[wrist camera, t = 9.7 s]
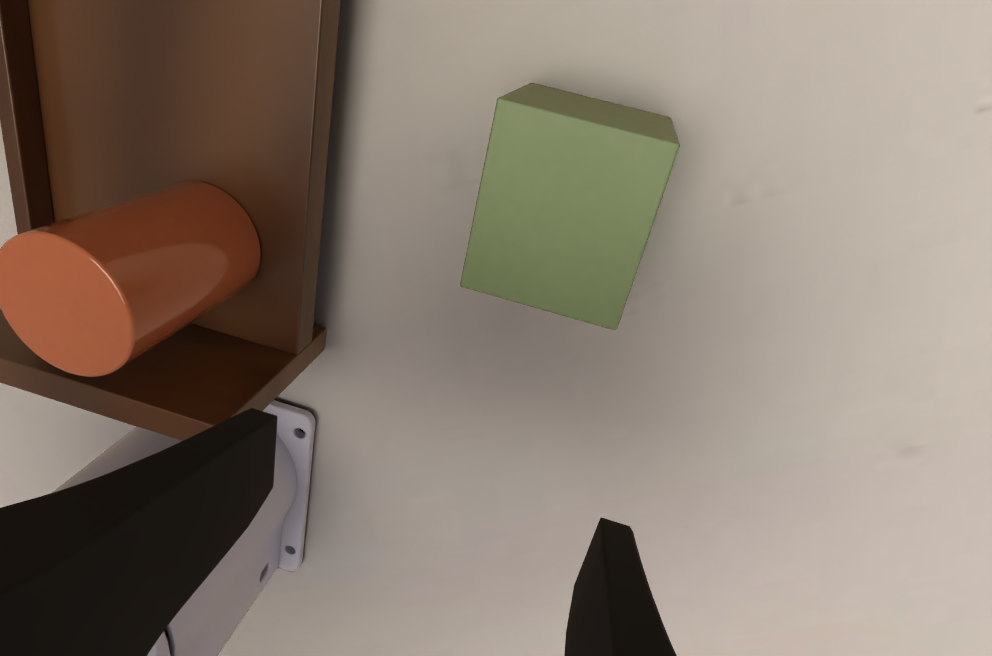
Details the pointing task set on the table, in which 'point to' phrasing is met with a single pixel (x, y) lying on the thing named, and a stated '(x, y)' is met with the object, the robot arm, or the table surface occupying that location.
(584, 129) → the green block
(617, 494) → the table surface
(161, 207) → the terracotta cylinder
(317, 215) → the shelf
